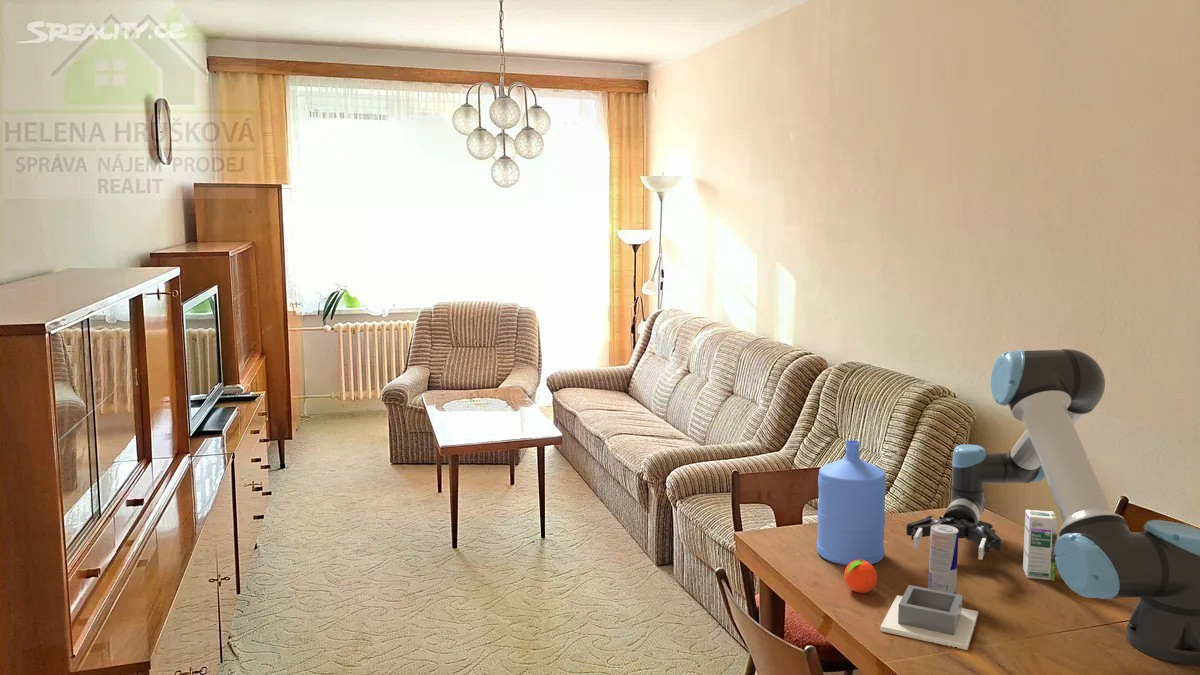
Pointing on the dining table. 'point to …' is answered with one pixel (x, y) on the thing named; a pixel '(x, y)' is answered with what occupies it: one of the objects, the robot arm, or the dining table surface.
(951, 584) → the beverage can
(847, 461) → the water jug
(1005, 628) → the dining table surface
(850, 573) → the clementine
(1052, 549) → the syrup box
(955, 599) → the can holder
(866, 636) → the dining table surface
